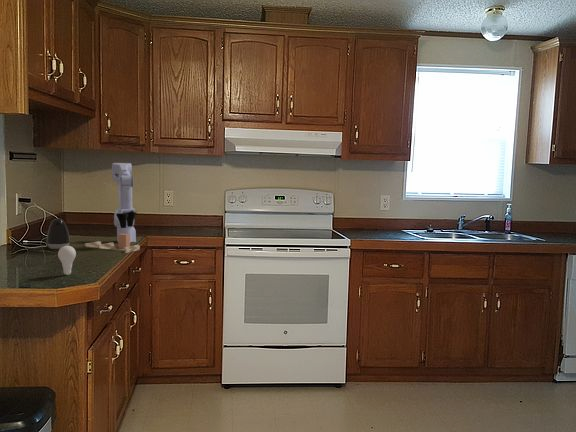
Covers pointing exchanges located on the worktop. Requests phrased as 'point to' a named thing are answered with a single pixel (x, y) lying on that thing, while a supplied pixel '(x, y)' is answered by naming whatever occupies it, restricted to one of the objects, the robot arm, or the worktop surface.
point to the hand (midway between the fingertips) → (126, 227)
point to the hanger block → (123, 240)
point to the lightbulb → (67, 258)
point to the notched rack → (112, 246)
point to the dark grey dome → (58, 234)
